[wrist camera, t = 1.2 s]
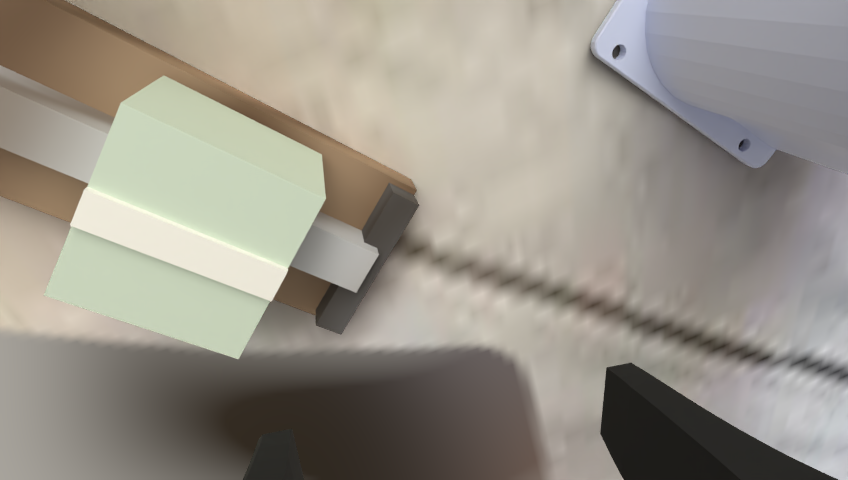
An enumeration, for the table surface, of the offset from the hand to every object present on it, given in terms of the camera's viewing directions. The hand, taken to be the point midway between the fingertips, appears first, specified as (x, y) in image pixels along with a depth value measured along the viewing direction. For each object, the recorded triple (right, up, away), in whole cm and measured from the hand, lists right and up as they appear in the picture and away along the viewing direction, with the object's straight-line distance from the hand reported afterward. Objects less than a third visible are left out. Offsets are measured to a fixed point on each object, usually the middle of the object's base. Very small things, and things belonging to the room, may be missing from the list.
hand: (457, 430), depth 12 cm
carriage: (-7, +6, +5) cm, 11 cm away
